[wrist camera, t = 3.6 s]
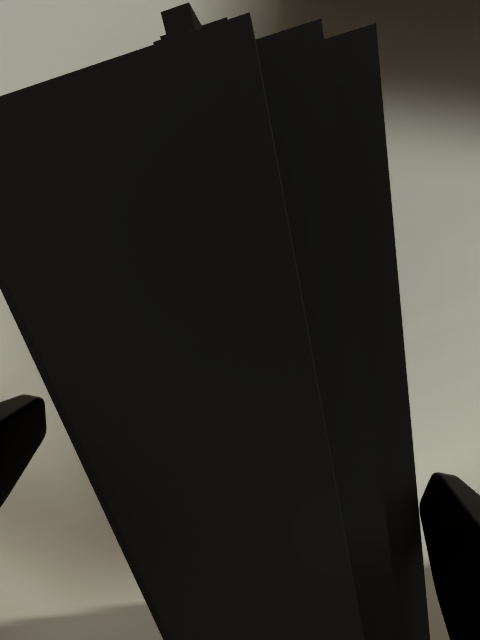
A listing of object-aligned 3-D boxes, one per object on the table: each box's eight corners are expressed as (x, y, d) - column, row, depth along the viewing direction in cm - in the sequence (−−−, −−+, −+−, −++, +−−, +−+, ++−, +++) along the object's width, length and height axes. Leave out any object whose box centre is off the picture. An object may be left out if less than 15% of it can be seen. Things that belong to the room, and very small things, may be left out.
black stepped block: (304, 13, 12) (381, -649, 2) (368, 470, 18) (461, 795, 8) (107, 77, 13) (-353, -182, 4) (230, 483, 19) (177, 776, 10)
